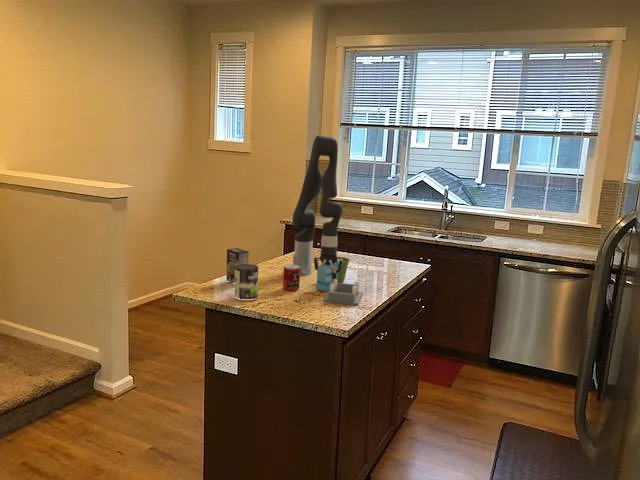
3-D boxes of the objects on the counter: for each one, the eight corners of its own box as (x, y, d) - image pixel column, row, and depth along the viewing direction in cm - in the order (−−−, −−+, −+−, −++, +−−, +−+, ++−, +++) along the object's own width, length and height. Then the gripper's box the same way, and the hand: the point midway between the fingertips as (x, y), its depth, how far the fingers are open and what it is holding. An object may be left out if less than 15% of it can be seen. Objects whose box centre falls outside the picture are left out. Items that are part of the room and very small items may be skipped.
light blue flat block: (324, 292, 256) (325, 267, 254) (316, 290, 259) (317, 265, 257) (337, 287, 267) (338, 262, 264) (329, 285, 269) (330, 261, 267)
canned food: (287, 291, 255) (287, 268, 253) (280, 287, 262) (280, 264, 260) (302, 290, 258) (303, 267, 256) (294, 286, 265) (295, 263, 263)
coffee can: (262, 297, 244) (263, 266, 241) (247, 302, 235) (248, 270, 233) (244, 293, 249) (245, 262, 247) (229, 298, 241) (229, 266, 238)
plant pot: (353, 281, 279) (355, 259, 277) (338, 285, 270) (339, 262, 268) (336, 276, 287) (337, 255, 285) (320, 280, 278) (321, 258, 276)
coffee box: (225, 281, 266) (226, 249, 264) (236, 279, 271) (237, 247, 268) (237, 286, 260) (238, 252, 257) (248, 283, 265) (249, 250, 262)
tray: (323, 301, 242) (324, 286, 241) (331, 291, 259) (331, 276, 258) (357, 305, 239) (358, 289, 238) (362, 294, 257) (363, 279, 255)
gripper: (312, 244, 256) (310, 280, 260) (343, 247, 254) (341, 283, 257) (315, 242, 264) (314, 276, 267) (345, 244, 261) (343, 279, 264)
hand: (327, 279), depth 262 cm, fingers closed on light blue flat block, 5 cm apart
